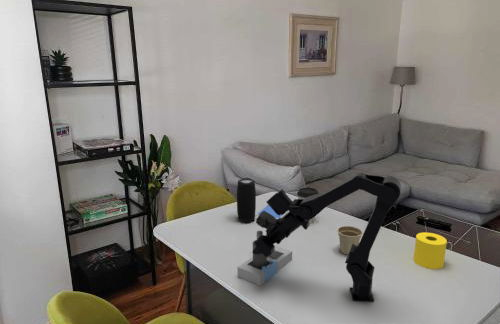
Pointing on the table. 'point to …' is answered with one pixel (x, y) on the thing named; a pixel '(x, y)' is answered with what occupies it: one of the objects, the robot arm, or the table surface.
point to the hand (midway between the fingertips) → (256, 249)
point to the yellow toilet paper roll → (430, 250)
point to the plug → (259, 256)
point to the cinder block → (267, 272)
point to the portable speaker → (246, 200)
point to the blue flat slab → (271, 212)
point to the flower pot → (348, 237)
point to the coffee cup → (307, 195)
